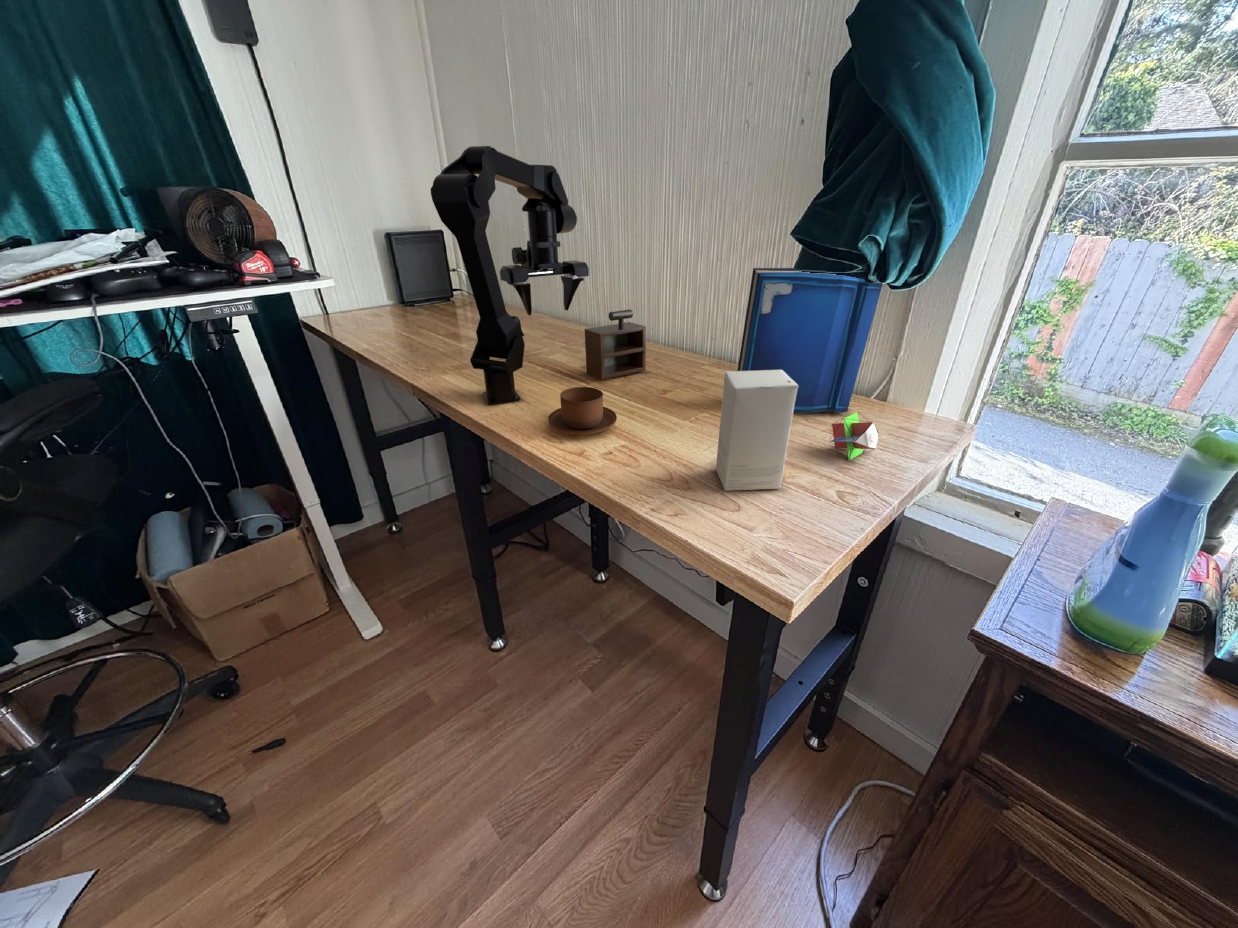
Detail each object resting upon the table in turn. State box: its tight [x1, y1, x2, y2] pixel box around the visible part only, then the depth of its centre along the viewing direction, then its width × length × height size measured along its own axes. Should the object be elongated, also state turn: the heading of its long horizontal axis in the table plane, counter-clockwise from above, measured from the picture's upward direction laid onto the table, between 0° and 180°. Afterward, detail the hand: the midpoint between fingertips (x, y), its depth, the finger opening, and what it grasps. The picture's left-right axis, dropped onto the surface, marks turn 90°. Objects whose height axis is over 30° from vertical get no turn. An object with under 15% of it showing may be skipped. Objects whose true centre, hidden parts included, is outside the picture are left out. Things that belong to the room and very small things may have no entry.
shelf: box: [584, 308, 647, 381], centre depth 110 cm, size 14×12×6 cm
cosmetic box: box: [715, 370, 799, 492], centre depth 68 cm, size 8×7×16 cm
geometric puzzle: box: [828, 410, 880, 461], centre depth 77 cm, size 7×7×8 cm
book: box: [737, 267, 884, 415], centre depth 89 cm, size 22×7×25 cm, turn 84°
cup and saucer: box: [547, 386, 618, 437], centre depth 86 cm, size 12×12×6 cm
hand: (548, 312), depth 110 cm, fingers open, 9 cm apart
